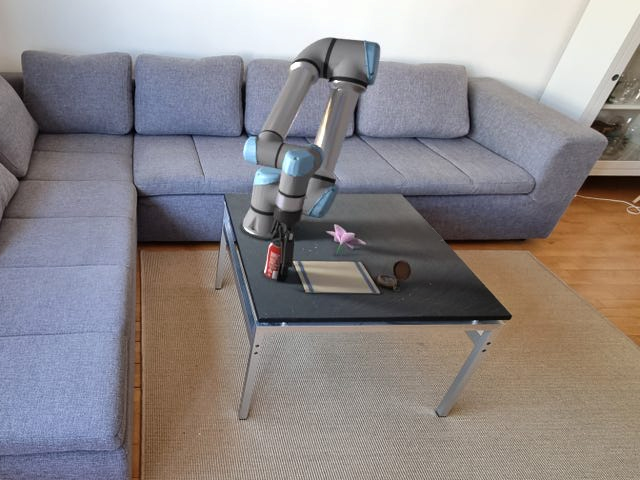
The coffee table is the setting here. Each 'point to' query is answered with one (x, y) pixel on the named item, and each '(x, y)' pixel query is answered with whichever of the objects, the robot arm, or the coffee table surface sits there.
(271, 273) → the soda can
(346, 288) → the cloth
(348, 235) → the lily
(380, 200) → the coffee table surface
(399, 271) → the compass
